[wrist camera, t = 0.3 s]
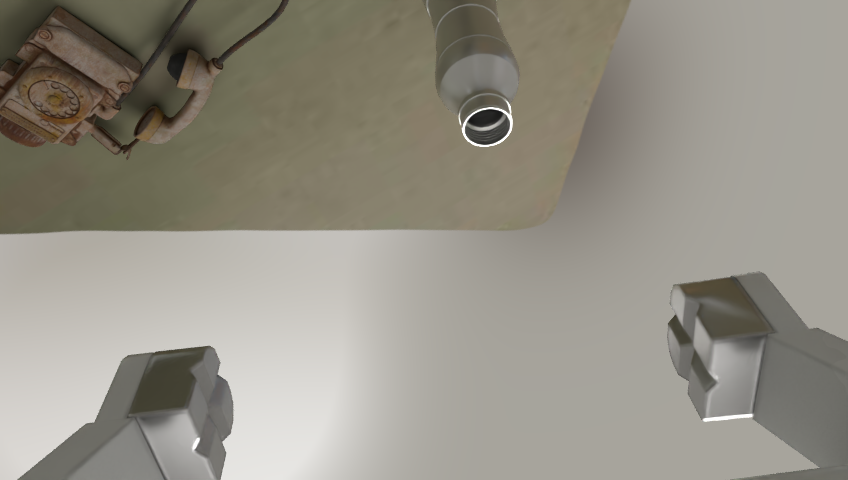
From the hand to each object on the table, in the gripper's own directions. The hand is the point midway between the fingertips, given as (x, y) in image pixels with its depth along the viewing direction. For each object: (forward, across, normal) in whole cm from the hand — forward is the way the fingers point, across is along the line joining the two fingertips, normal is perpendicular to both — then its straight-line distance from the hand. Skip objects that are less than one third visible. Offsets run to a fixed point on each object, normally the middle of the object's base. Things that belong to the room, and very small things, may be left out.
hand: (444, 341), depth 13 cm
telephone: (+58, +25, +10) cm, 64 cm away
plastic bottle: (+56, -5, +6) cm, 56 cm away
